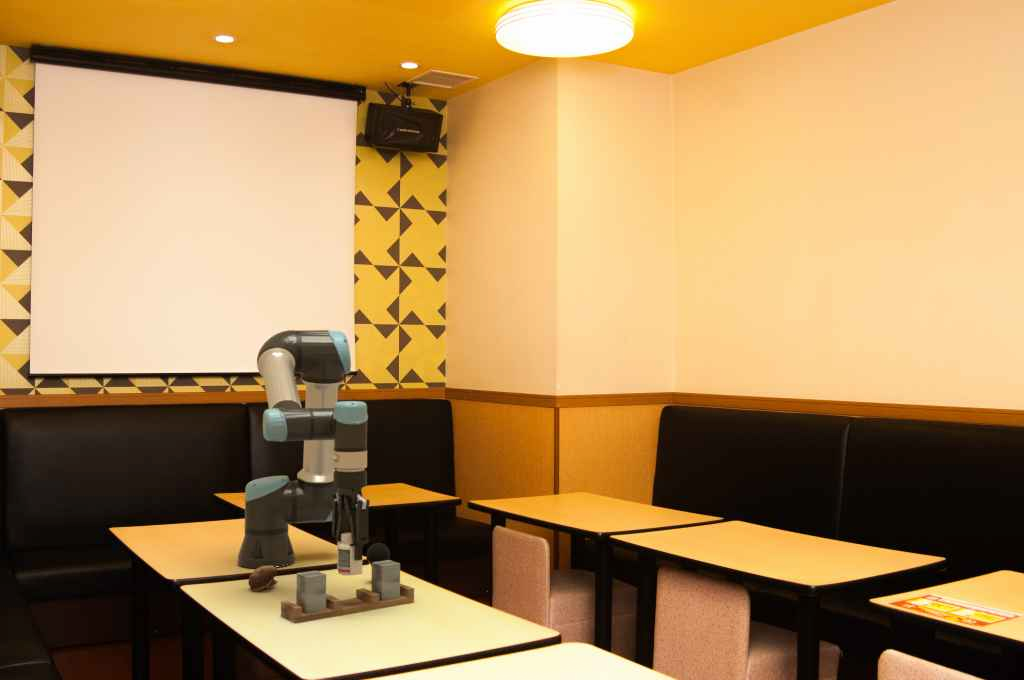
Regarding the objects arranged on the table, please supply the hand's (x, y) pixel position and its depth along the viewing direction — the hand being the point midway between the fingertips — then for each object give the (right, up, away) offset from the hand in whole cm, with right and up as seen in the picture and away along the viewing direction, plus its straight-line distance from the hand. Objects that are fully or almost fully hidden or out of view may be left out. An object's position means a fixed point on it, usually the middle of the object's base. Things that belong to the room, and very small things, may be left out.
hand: (349, 571), depth 228 cm
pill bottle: (0, 0, 0) cm, 1 cm away
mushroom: (-24, -9, +18) cm, 31 cm away
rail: (0, -8, 0) cm, 8 cm away
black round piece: (+3, -9, +25) cm, 27 cm away
